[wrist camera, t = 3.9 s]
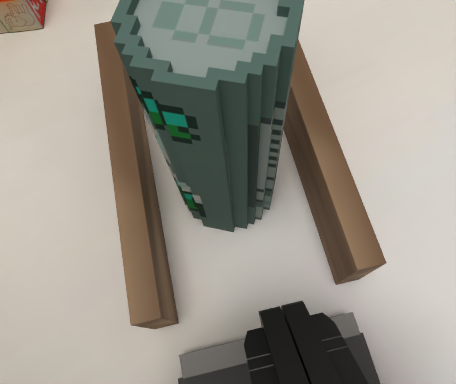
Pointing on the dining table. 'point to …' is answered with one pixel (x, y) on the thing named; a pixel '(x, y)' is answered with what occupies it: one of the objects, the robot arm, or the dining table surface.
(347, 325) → the mat
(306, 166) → the lane
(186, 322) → the dining table surface
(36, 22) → the stack of blocks
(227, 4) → the can
